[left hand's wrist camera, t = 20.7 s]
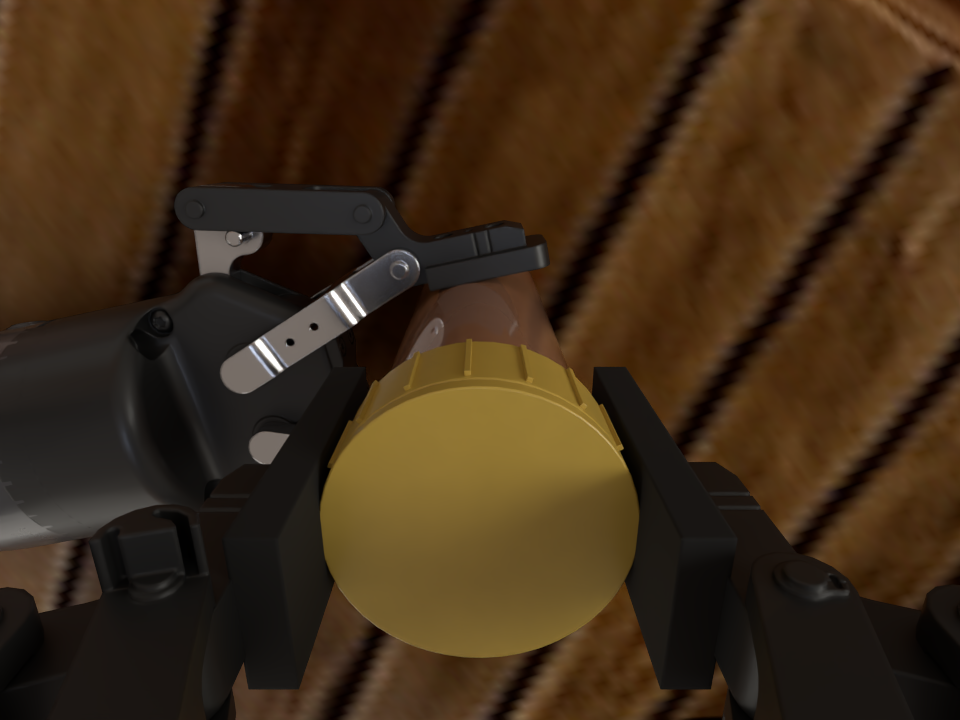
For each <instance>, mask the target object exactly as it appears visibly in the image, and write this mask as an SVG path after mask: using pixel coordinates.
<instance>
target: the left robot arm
mask: <svg viewBox="0 0 960 720" xmlns="http://www.w3.org/2000/svg"><path fill="white" fill-rule="evenodd" d="M366 396H367V382H366V368H365V367H334V368H333V369H332V371H331V372H330V374H329V375H328V377H327V378H326V380H325V381H324V383H323V384H322V386H321V387H320V389H319V391H318V392H317V394H316V395H315V397H314V398H313V400H312V401H311V403H310V404H309V406H308V407H307V409H306V410H305V412H304V413H303V415H302V416H301V418H300V420H299V421H298V423H297V424H296V426H295V427H294V429H293V430H292V432H291V433H290V435H289V436H288V438H287V439H286V441H285V442H284V444H283V446H282V447H281V449H280V450H279V452H278V453H277V455H276V456H275V458H274V459H273V461H272V462H271V464H244V465H242V466H241V467H239V468H238V469H236V470H234V471H233V472H231V473H230V474H228V475H227V476H225V477H224V478H223V479H222V480H221V481H220V482H219V484H218V485H217V486H216V488H215V489H214V490H213V492H212V493H211V494H210V498H207V499H206V501H205V502H204V503H203V505H202V506H201V507H200V508H199V509H200V510H199V512H195V511H194V510H193V509H191V508H190V507H186V506H182V505H177V504H166V505H154V506H150V507H145V508H141V509H137V510H134V511H131V512H129V513H127V514H124V515H122V516H119V517H117V518H115V519H113V520H112V521H110V522H109V523H107V524H106V525H104V526H103V527H101V528H100V529H99V530H98V531H97V532H96V533H95V534H94V535H93V537H92V538H91V539H90V540H89V545H90V548H91V552H92V556H93V559H94V563H95V567H96V570H97V574H98V578H99V581H100V585H101V589H102V592H103V593H102V595H101V597H100V599H99V600H95V601H92V602H88V603H84V604H79V605H75V606H70V607H66V608H61V609H56V610H52V611H47V612H43V613H38V610H37V607H36V604H35V601H34V598H33V596H32V595H31V594H29V593H28V592H27V591H25V590H24V589H17V588H9V587H6V588H0V720H235V718H236V709H235V702H234V696H233V691H232V686H233V684H234V682H235V680H236V677H237V675H238V673H239V671H240V669H241V667H242V664H243V662H244V666H245V672H246V677H247V683H248V689H299V687H300V684H301V681H302V678H303V675H304V672H305V669H306V666H307V663H308V660H309V657H310V654H311V651H312V648H313V645H314V642H315V639H316V636H317V633H318V630H319V627H320V624H321V621H322V618H323V615H324V612H325V609H326V606H327V603H328V600H329V597H330V593H331V590H332V587H333V584H334V581H335V580H334V579H333V577H332V575H331V573H330V571H329V568H328V566H327V563H326V561H325V556H324V547H323V538H322V529H321V520H320V500H321V496H322V492H323V488H324V484H325V482H326V479H327V477H328V475H329V472H330V470H331V469H330V468H327V466H328V463H329V461H330V459H331V457H332V455H333V453H334V451H335V448H336V446H337V444H338V442H339V440H340V438H341V436H342V434H343V432H344V430H345V427H346V425H347V423H348V421H349V420H350V421H353V420H354V418H355V415H356V413H357V411H358V409H359V408H360V406H361V404H362V403H363V401H364V400H365V398H366ZM592 396H593V398H594V399H595V401H596V402H597V403H598V405H601V404H603V406H604V408H605V410H606V412H607V414H608V416H609V418H610V420H611V423H612V425H613V427H614V429H615V431H616V433H617V435H618V437H619V439H620V442H621V444H622V446H623V448H624V449H622V450H620V452H621V454H622V456H623V458H624V461H625V463H626V465H627V467H628V469H629V472H630V474H631V476H632V479H633V482H634V485H635V488H636V491H637V494H638V500H639V507H640V513H639V524H638V533H637V542H636V551H635V558H634V561H633V564H632V567H631V569H630V571H629V573H628V575H627V577H626V579H625V583H626V586H627V589H628V592H629V595H630V598H631V601H632V604H633V607H634V610H635V613H636V616H637V619H638V622H639V625H640V628H641V632H642V635H643V638H644V641H645V644H646V647H647V650H648V653H649V656H650V659H651V662H652V665H653V668H654V671H655V674H656V677H657V680H658V683H659V686H660V689H711V685H712V679H713V674H714V668H715V663H716V661H717V663H718V665H719V667H720V669H721V671H722V674H723V676H724V678H725V680H726V682H727V685H728V691H727V696H726V701H725V707H724V712H723V717H722V720H960V585H945V586H937V587H935V588H934V589H932V590H931V591H930V592H929V593H927V595H926V598H925V601H924V604H923V607H922V611H920V610H916V609H911V608H906V607H902V606H897V605H892V604H888V603H883V602H878V601H874V600H870V599H867V598H863V597H860V596H859V594H858V592H857V590H856V589H855V588H854V586H853V585H852V584H851V582H850V581H849V580H848V578H846V577H845V576H844V575H842V574H841V573H840V572H838V571H837V570H836V569H834V568H833V567H832V566H830V565H827V564H825V563H823V562H821V561H819V560H817V559H815V558H813V557H809V556H805V555H801V554H797V553H796V552H795V551H794V549H793V548H792V547H791V545H790V544H789V543H788V542H787V540H786V539H785V538H784V536H783V535H782V534H781V532H780V531H779V530H778V529H777V527H776V526H775V525H774V523H773V522H772V521H771V520H770V518H769V517H768V516H767V514H766V513H765V512H764V511H763V510H761V509H760V505H759V504H758V503H757V501H756V500H755V499H754V498H753V496H750V492H749V491H748V490H747V489H746V487H745V486H744V485H743V483H742V482H741V481H740V480H739V478H738V477H737V476H736V475H734V474H733V473H731V472H730V471H728V470H727V469H725V468H724V467H722V466H720V465H719V464H717V463H716V462H687V460H686V459H685V457H684V456H683V454H682V453H681V451H680V450H679V448H678V447H677V445H676V443H675V442H674V440H673V439H672V437H671V436H670V434H669V433H668V431H667V430H666V428H665V427H664V425H663V424H662V422H661V421H660V419H659V417H658V416H657V414H656V413H655V411H654V410H653V408H652V407H651V405H650V404H649V402H648V401H647V399H646V398H645V396H644V395H643V393H642V391H641V390H640V388H639V387H638V385H637V384H636V382H635V381H634V379H633V378H632V376H631V375H630V373H629V372H628V370H627V369H626V367H594V374H593V388H592Z"/></svg>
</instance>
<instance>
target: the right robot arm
mask: <svg viewBox="0 0 960 720" xmlns="http://www.w3.org/2000/svg"><path fill="white" fill-rule="evenodd" d="M174 208H175V212H176V215H177V217H178V219H179V220H180V221H181V222H182V224H184V225H185V226H186V227H188V228H190V229H193V230H194V233H195V241H196V248H197V256H198V263H199V270H200V276H198V277H196V278H195V279H193V280H192V281H191V282H189V283H188V285H187V286H186V287H185V288H184V289H183V290H182V291H180V292H179V293H176V294H173V295H168V296H163V297H158V298H154V299H149V300H144V301H140V302H135V303H130V304H126V305H121V306H116V307H112V308H107V309H102V310H98V311H93V312H88V313H84V314H79V315H74V316H70V317H65V318H60V319H55V320H51V321H33V322H26V323H20V324H16V325H12V326H11V327H10V328H7V329H6V330H4V331H0V551H9V550H18V549H25V548H31V547H37V546H42V545H48V544H53V543H59V542H64V541H70V540H75V539H81V538H86V537H92V536H93V535H94V534H95V533H96V532H97V531H98V530H99V529H100V528H101V527H103V526H104V525H106V524H107V523H109V522H110V521H112V520H113V519H115V518H117V517H119V516H122V515H124V514H127V513H129V512H131V511H134V510H137V509H141V508H145V507H150V506H154V505H166V504H177V505H182V506H186V507H190V508H191V509H193V510H194V511H195V512H199V510H200V509H199V508H200V507H201V506H202V505H203V503H204V502H205V501H206V499H207V498H210V494H211V493H212V492H213V490H214V489H215V488H216V486H217V485H218V484H219V482H220V481H221V480H222V479H223V478H224V477H225V476H227V475H228V474H230V473H231V472H233V471H234V470H236V469H238V468H239V467H241V466H242V465H244V464H271V462H272V461H273V459H274V458H275V456H276V455H277V453H278V452H279V450H280V449H281V447H282V446H283V444H284V442H285V441H286V439H287V438H288V436H289V435H290V433H291V432H292V430H293V429H294V427H295V426H296V424H297V423H298V421H299V420H300V418H301V416H302V415H303V413H304V412H305V410H306V409H307V407H308V406H309V404H310V403H311V401H312V400H313V398H314V397H315V395H316V394H317V392H318V391H319V389H320V387H321V386H322V384H323V383H324V381H325V380H326V378H327V377H328V375H329V374H330V372H331V371H332V369H333V368H334V367H358V366H357V364H356V341H355V337H354V334H353V331H352V327H353V326H354V325H355V324H357V323H358V322H359V321H360V320H361V319H363V318H364V317H365V316H366V315H368V314H369V313H371V312H372V311H374V310H376V309H377V308H379V307H380V306H382V305H383V304H385V303H387V302H388V301H390V300H391V299H393V298H394V297H396V296H398V295H399V294H401V293H402V292H404V291H406V290H407V289H409V288H410V287H413V286H417V285H422V284H427V283H428V285H429V289H430V292H431V291H435V290H440V289H445V288H450V287H454V286H458V285H462V284H468V283H474V282H479V281H483V280H488V279H493V278H498V277H503V276H507V275H512V274H517V273H522V272H527V271H531V270H536V269H540V268H543V267H546V266H548V265H549V264H550V261H549V255H548V249H547V243H546V240H545V239H544V237H543V236H542V235H530V236H525V234H524V229H523V227H522V225H521V223H517V222H511V221H505V220H503V221H498V222H494V223H489V224H484V225H480V226H475V227H470V228H466V229H461V230H456V231H452V232H447V233H442V234H438V235H433V236H423V235H419V234H417V233H415V232H414V231H412V230H411V229H410V228H409V227H408V226H407V224H406V223H405V221H404V220H403V218H402V217H401V215H400V214H399V212H398V211H397V209H396V208H395V202H394V199H393V197H392V195H391V194H390V193H389V192H388V191H387V190H385V189H383V188H381V187H370V186H336V185H303V184H269V183H236V182H224V183H217V184H208V185H202V186H196V187H189V188H186V189H183V190H182V191H180V192H179V193H178V195H177V196H176V199H175V203H174ZM273 233H300V234H334V235H357V237H358V238H359V240H360V241H361V242H362V244H363V245H364V247H365V248H366V250H367V251H368V253H369V254H370V256H371V257H372V258H371V259H369V260H368V261H366V262H365V263H363V264H362V265H360V266H358V267H357V268H354V269H353V270H351V271H349V272H348V273H346V274H345V275H343V276H342V277H340V278H339V279H337V280H336V281H334V282H333V283H331V284H330V285H328V286H326V287H325V288H323V289H322V290H320V291H319V292H317V293H316V294H314V295H313V296H311V297H307V296H305V295H303V294H300V293H298V292H295V291H293V290H291V289H288V288H286V287H283V286H281V285H279V284H276V283H274V282H272V281H269V280H267V279H264V278H262V277H260V276H257V275H255V274H252V273H250V272H248V271H245V270H243V269H240V265H241V261H242V258H243V257H244V256H245V255H248V254H252V253H254V252H257V251H259V250H261V249H263V248H265V247H266V246H267V245H268V244H269V243H270V242H271V239H272V236H273ZM366 382H367V380H366ZM369 390H370V388H369V385H368V382H367V394H368V392H369Z"/></svg>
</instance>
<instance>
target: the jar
mask: <svg viewBox="0 0 960 720" xmlns="http://www.w3.org/2000/svg"><path fill="white" fill-rule="evenodd" d="M466 339H472V342H474V341H477V342H497V343H503V344H510V345H514V346H518V347H520V345H521V344H522V345H526V348H527V349H528V350H531V351H533V352H536V353H538V354H540V355H543V356H545V357H547V358H549V359H551V360H552V361H554V362H556V363H557V364H559V365H561V366H562V367H564V368H565V369H566V370H567V368H568V367H567V364H566V362H565V359H564V357H563V354H562V351H561V349H560V346H559V344H558V341H557V339H556V336H555V334H554V331H553V329H552V326H551V324H550V321H549V319H548V316H547V314H546V311H545V309H544V306H543V304H542V301H541V299H540V296H539V293H538V291H537V288H536V286H535V283H534V281H533V278H532V276H531V274H530V272H529V271H527V272H522V273H517V274H512V275H507V276H503V277H498V278H493V279H488V280H483V281H479V282H474V283H468V284H462V285H458V286H454V287H450V288H445V289H440V290H435V291H431V292H430V289H429V285H428V283H427V284H424V287H423V289H422V292H421V294H420V297H419V300H418V302H417V305H416V307H415V310H414V312H413V315H412V317H411V320H410V322H409V325H408V327H407V330H406V332H405V335H404V337H403V340H402V342H401V345H400V347H399V350H398V352H397V355H396V357H395V360H394V362H393V365H392V367H391V370H390V371H392V370H393V369H395V368H396V367H398V366H399V365H400V364H402V363H403V362H405V361H407V360H409V359H411V358H413V355H414V353H415V352H418V351H419V352H420V353H423V352H426V351H429V350H432V349H434V348H437V347H441V346H446V345H450V344H455V343H463V342H466Z"/></svg>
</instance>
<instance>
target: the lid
mask: <svg viewBox="0 0 960 720" xmlns="http://www.w3.org/2000/svg"><path fill="white" fill-rule="evenodd" d="M622 449H624V448H623V446H622V444H621V442H620V439H619V437H618V435H617V433H616V431H615V429H614V427H613V425H612V423H611V420H610V418H609V416H608V414H607V412H606V410H605V408H604V406H603V404H601V405H598V403H597V402H596V401H595V399H594V398H593V396H592V395H591V394H590V392H589V391H588V390H587V388H586V387H585V386H584V385H583V384H582V383H581V382H580V381H579V380H578V379H577V378H576V377H575V375H574V372H573V370H572V369H571V368H569V367H568V368H567V370H566V369H565V368H564V367H562V366H561V365H559V364H557V363H556V362H554V361H552V360H551V359H549V358H547V357H545V356H543V355H540V354H538V353H536V352H533V351H531V350H528V349H527V348H526V345H522V344H521V345H520V347H518V346H514V345H510V344H503V343H497V342H477V341H474V342H472V339H466V342H463V343H455V344H450V345H446V346H441V347H437V348H434V349H432V350H429V351H426V352H423V353H420V352H419V351H418V352H415V353H414V355H413V358H411V359H409V360H407V361H405V362H403V363H402V364H400V365H399V366H398V367H396V368H395V369H393V370H392V371H390V372H389V373H388V374H387V375H386V376H385V377H384V378H383V379H381V380H380V381H379V382H378V381H376V380H375V381H374V382H373V383H372V385H371V388H370V390H369V392H368V394H367V396H366V398H365V400H364V401H363V403H362V404H361V406H360V408H359V409H358V411H357V413H356V415H355V418H354V420H353V421H350V420H349V421H348V423H347V425H346V427H345V430H344V432H343V434H342V436H341V438H340V440H339V442H338V444H337V446H336V448H335V451H334V453H333V455H332V457H331V459H330V461H329V463H328V466H327V468H330V469H331V470H330V472H329V475H328V477H327V479H326V482H325V484H324V488H323V492H322V496H321V500H320V520H321V529H322V538H323V547H324V556H325V561H326V563H327V566H328V568H329V571H330V573H331V575H332V577H333V579H334V580H335V582H336V584H337V586H338V587H339V589H340V590H341V592H342V593H343V594H344V595H345V597H346V598H347V599H348V601H349V602H350V603H351V604H352V605H353V606H354V607H355V608H356V609H357V610H358V611H359V612H360V613H361V614H362V615H363V616H364V617H365V618H367V619H368V620H369V621H370V622H372V623H373V624H374V625H375V626H377V627H378V628H380V629H382V630H383V631H385V632H386V633H388V634H390V635H391V636H393V637H395V638H397V639H399V640H402V641H404V642H406V643H408V644H410V645H413V646H416V647H419V648H422V649H425V650H428V651H432V652H436V653H440V654H445V655H451V656H459V657H475V658H488V657H501V656H508V655H514V654H519V653H524V652H527V651H531V650H534V649H538V648H541V647H544V646H546V645H549V644H551V643H553V642H556V641H558V640H560V639H562V638H564V637H566V636H568V635H569V634H571V633H573V632H575V631H576V630H578V629H579V628H581V627H582V626H583V625H585V624H586V623H588V622H589V621H590V620H592V619H593V618H594V617H595V616H596V615H597V614H598V613H599V612H600V611H602V610H603V609H604V608H605V606H606V605H607V604H608V603H609V602H610V601H611V600H612V598H613V597H614V596H615V595H616V593H617V592H618V590H619V589H620V587H621V586H622V584H623V583H624V581H625V579H626V577H627V575H628V573H629V571H630V569H631V567H632V564H633V561H634V558H635V551H636V542H637V533H638V524H639V513H640V507H639V500H638V494H637V491H636V488H635V485H634V482H633V479H632V476H631V474H630V472H629V469H628V467H627V465H626V463H625V461H624V458H623V456H622V454H621V452H620V450H622Z"/></svg>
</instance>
